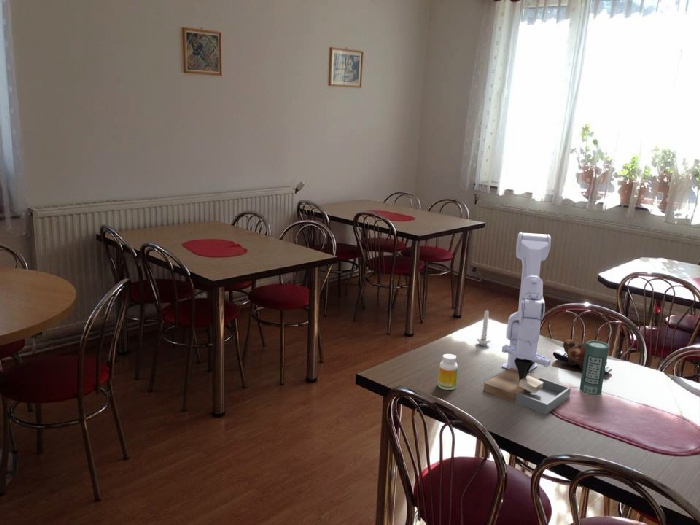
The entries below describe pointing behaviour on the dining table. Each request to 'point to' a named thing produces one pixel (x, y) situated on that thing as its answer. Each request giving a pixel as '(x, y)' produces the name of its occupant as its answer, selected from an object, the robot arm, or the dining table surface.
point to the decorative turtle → (575, 352)
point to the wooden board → (506, 385)
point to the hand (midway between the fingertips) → (522, 381)
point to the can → (594, 367)
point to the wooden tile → (531, 384)
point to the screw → (484, 331)
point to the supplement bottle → (448, 372)
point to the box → (544, 397)
